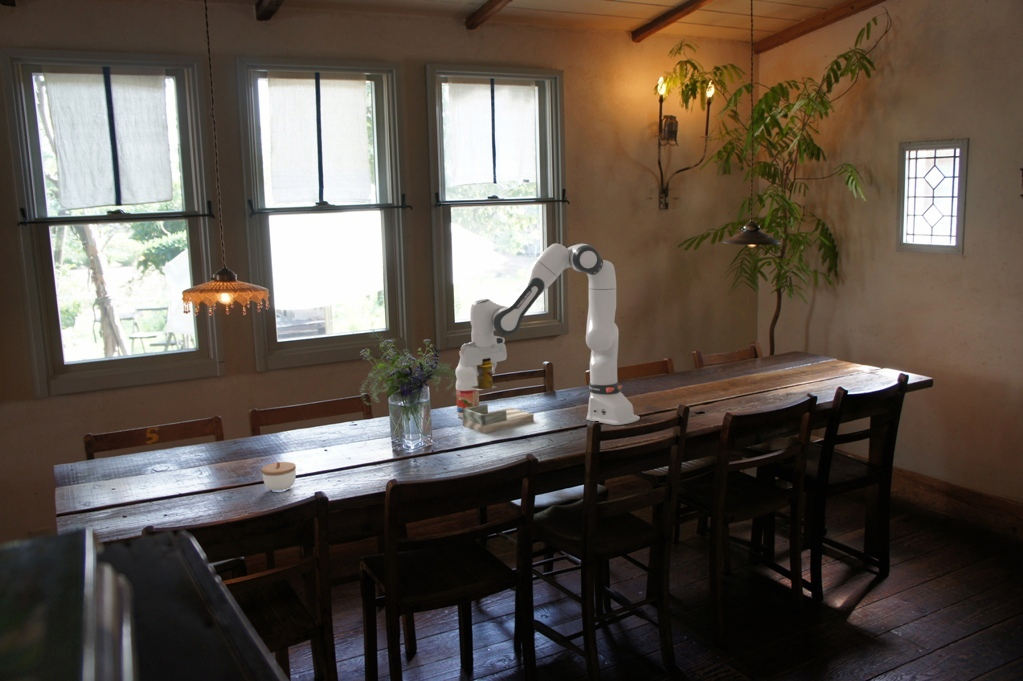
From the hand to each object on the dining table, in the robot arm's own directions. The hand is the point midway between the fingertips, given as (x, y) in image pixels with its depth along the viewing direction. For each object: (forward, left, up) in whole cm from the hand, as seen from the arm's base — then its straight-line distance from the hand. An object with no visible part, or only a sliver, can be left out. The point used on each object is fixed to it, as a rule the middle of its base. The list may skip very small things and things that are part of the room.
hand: (484, 374), depth 339 cm
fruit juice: (+19, -3, -21) cm, 29 cm away
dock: (0, -5, -21) cm, 22 cm away
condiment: (0, +1, -5) cm, 5 cm away
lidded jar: (-15, +92, -21) cm, 96 cm away
